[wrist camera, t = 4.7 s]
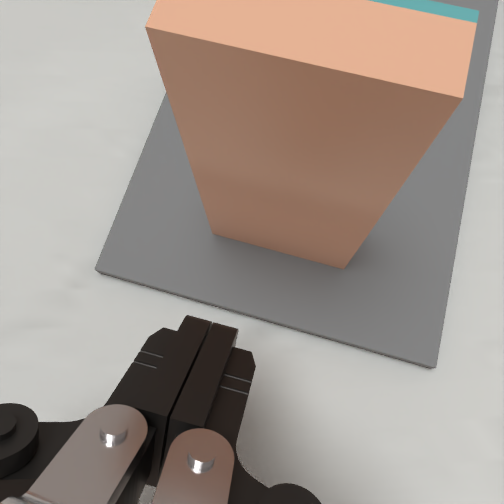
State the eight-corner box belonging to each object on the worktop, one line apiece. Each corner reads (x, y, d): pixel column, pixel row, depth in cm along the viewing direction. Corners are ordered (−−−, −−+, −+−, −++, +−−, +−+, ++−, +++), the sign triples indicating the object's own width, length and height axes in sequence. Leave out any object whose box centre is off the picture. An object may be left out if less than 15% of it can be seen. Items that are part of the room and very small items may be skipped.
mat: (99, 272, 20) (94, 269, 20) (248, -102, 27) (248, -112, 26) (430, 368, 19) (435, 367, 18) (503, -53, 25) (509, -64, 25)
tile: (212, 233, 20) (145, 26, 8) (225, 194, 20) (179, -52, 9) (343, 269, 19) (462, 98, 8) (353, 227, 20) (479, 10, 8)
